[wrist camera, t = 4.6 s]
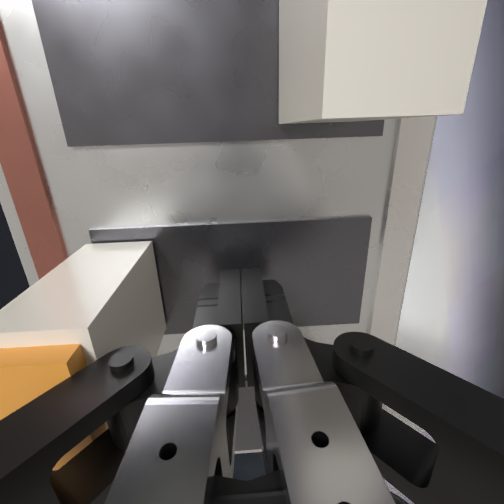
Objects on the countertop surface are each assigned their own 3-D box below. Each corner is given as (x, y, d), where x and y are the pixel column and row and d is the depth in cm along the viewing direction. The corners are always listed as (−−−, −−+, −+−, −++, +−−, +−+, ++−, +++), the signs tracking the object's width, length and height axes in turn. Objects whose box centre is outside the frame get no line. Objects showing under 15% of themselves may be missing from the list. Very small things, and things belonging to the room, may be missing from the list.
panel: (-33, -26, 10) (-100, -65, 8) (429, -32, 11) (475, -70, 9) (106, 430, 18) (90, 467, 16) (362, 412, 19) (378, 446, 17)
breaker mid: (85, 244, 12) (-57, 354, 6) (152, 240, 12) (73, 346, 6) (107, 330, 13) (10, 484, 7) (166, 327, 13) (114, 476, 7)
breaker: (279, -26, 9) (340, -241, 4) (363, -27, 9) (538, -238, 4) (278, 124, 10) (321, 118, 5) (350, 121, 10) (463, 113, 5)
